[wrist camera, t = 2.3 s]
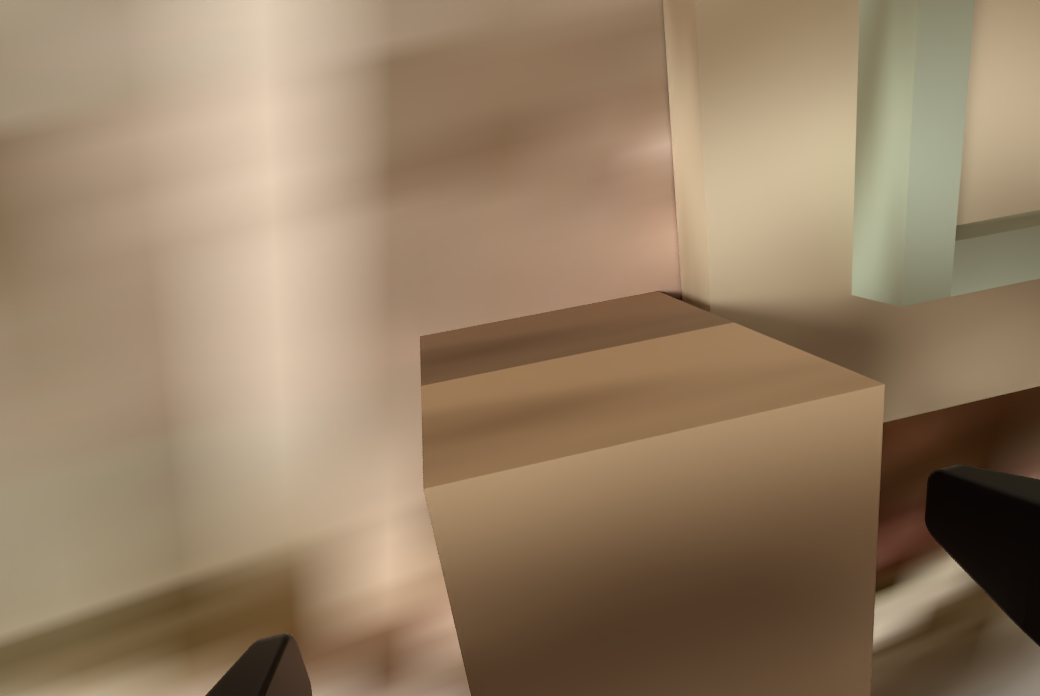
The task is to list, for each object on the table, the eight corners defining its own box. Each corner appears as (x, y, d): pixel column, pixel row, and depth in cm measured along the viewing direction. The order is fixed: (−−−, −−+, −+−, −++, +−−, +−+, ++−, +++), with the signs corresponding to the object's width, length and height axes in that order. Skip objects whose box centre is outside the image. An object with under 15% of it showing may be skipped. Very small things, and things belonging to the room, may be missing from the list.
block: (673, 496, 13) (869, 728, 7) (465, 547, 12) (505, 842, 7) (656, 290, 12) (885, 384, 6) (419, 336, 11) (423, 489, 5)
